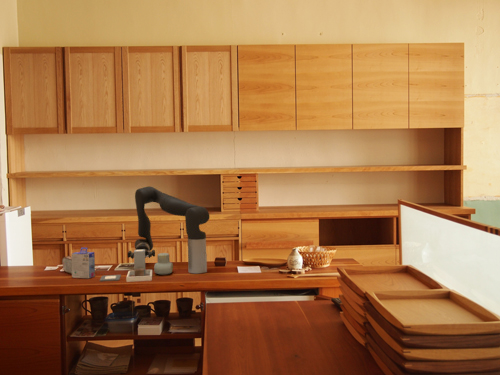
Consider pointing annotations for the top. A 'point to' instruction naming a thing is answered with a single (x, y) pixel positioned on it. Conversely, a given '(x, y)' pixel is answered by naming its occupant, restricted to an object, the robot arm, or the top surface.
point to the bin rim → (139, 278)
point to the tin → (67, 264)
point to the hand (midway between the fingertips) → (140, 256)
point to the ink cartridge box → (83, 264)
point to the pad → (110, 278)
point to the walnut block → (139, 272)
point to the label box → (139, 259)
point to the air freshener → (163, 264)
